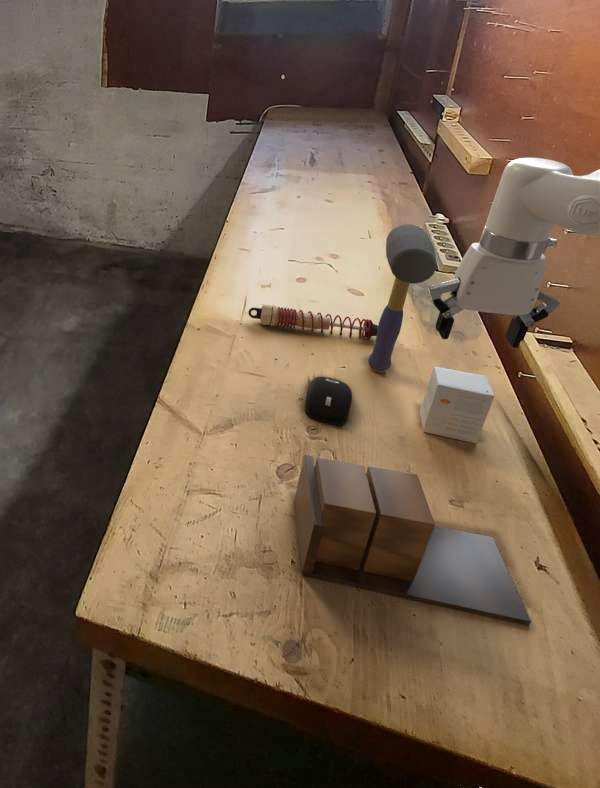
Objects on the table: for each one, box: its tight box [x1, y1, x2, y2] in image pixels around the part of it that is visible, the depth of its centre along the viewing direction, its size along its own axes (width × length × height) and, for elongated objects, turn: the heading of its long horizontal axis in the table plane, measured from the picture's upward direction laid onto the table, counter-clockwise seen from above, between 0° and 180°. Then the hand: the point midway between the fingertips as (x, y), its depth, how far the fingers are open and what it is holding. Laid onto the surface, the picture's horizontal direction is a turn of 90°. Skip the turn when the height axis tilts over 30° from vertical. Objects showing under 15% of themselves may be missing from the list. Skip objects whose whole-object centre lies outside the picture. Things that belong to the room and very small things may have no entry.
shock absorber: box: [248, 303, 378, 340], centre depth 125 cm, size 5×5×30 cm
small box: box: [419, 366, 495, 444], centre depth 96 cm, size 8×6×10 cm
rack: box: [293, 454, 532, 626], centre depth 74 cm, size 26×12×12 cm, turn 74°
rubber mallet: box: [367, 224, 438, 374], centre depth 107 cm, size 12×8×30 cm, turn 156°
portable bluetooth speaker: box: [304, 376, 353, 426], centre depth 104 cm, size 8×12×4 cm, turn 151°
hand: (476, 338), depth 90 cm, fingers open, 9 cm apart
